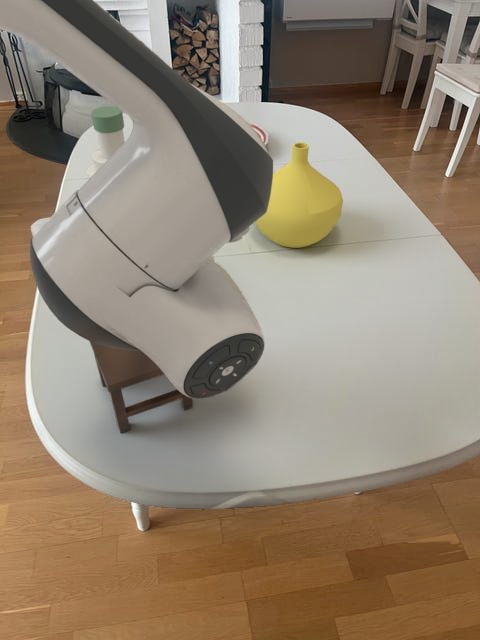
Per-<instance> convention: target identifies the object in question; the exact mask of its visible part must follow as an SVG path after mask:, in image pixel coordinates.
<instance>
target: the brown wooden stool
mask: <svg viewBox="0 0 480 640" xmlns="http://www.w3.org/2000/svg"><path fill="white" fill-rule="evenodd" d="M89 344H90V347H91V349H92V352H93V356H94V359H95V364H96V367H97V370H98V375H99V379H100V382H101V385H102V387H103V388H104V387H106V389H107V392H108V393H109V397H110V400H111V401H110V402H111V405H112V408H113V413H114V416H115V420H116V425H117V427H118V430H119V433H120V434H123V433H126V432H129V431H131V425H130V422H129V418H130V417H133V416H136V415H138V414H141V413H144V412H147V411H151V410H152V409H156V408H159V407H161V406H164V405H167V404H170V403H173V402H175V401H178V400H179V402H180V406H181V408H182V409H183V411H186V410H189V409H192V408H194V404H193V398H189V397H187V396H185V395H184V394H182V393H181V392H179V391H178V390H177V389H175V390H171V391H168V392H166V393H162V394H160V395H157V396H154V397H151V398H148V399H146V400H143V401H140V402H137V403H134V404H132V405H128V406H126V404H125V398H124V395H123V390H122V389H124V388H127V387H130V386H133V385H136V384H139V383H143V382H145V381H148V380H151V379H154V378H157V377H160V376H163V375H165V374H164V373H163V372H162V370H161V369H160V368H159V367H158V366H157V365H156V364H155V363H154V362H153V361H152V360H151V359H150V358H149V357H148V356H147V355H146V354H144V353H143V352H142V351H132V350H124V349H119V348H113V347H108V346H103V345H99V344H96V343H93V342H91V341H89Z"/></svg>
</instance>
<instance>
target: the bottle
mask: <svg viewBox="0 0 480 640" xmlns="http://www.w3.org/2000/svg"><path fill="white" fill-rule="evenodd" d="M91 120H92V125H93V129H94V131H95V132H96V136H97V141H98V146H99V149H97V150H95V151H94V152H93V153H92V156H91V157H92V164H91V165H89V166H88V168H87V169H86V170H87V171H86V174H87V178H88V180H89V179H90V178H91V177H92V176H93V175H94V174H95V173H96V172H97V171H98V170H99V169H100V168H101V167H102V166H103V164H104V163H105V162H106V161H107V160H108V159H109V158H110V157H111V156H112V155H113V154H114V153H115V152H116V151H117V150H118V149H119V148H120V147H121V146H122V145H123V144H124V143H125V142H126V140H125V136H124V128H125V121H124V115H123V111H121V110H120V109H119V108H117V107H116V106H110V105H109V106H108V105H105V106H100V107H97V108H94V109H93V110H92V111H91Z"/></svg>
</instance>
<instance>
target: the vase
mask: <svg viewBox="0 0 480 640" xmlns="http://www.w3.org/2000/svg"><path fill="white" fill-rule="evenodd" d="M309 147H310V145H309V144H308V143H306V142H298V141H297V142H295V143H293V144H292V148H291V149H292V151H291V159H290V161H289V162H288V163H287V164H286V165H284V166H283V167H280V168H279V169H278V170H276V171H273V180H272V188H271V195H270V200H269V204H268V209H267V212H266V213H265V214H264V215H263V216H262V217H260V218H259V219H258V220H257V221H255V222H254V223H255V225H256V227H257V228H258V229H259V231H260V232H261V234H263V235H264V237H265V238H267V239H268V240H269V241H271V242H272V243H275V244H277V245H279V246H281V247H285V248H292V249H297V248H299V249H300V248H306V247H308V246H311V245H314V244H316V243H318V242H320V241H321V240H323V239H324V238H325V237H326V236H328V235H329V234H330V233H331V231H332V230H333V229H334V227H335V225H336V224H337V222H338V221H339V220H340V218H341V215H342V210H343V204H344V199H343V194H342V192H341V190H340V187H338V186H337V184H335V183H334V182H333V181H332V180H331V179H329V178H328V177H326V176H325V175H323V174H322V173H321V172H320V171H319V170H317V169H315V167H313V166H312V165H311V163H310V162H309V159H308V157H309V150H310V149H309Z"/></svg>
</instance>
